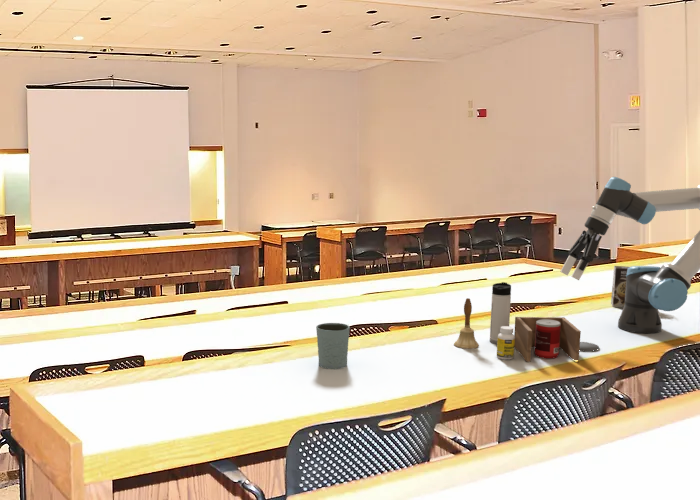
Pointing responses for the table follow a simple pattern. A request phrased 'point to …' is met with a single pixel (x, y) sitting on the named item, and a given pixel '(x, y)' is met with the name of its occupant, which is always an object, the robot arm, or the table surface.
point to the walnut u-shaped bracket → (527, 331)
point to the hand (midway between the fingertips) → (569, 276)
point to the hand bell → (467, 330)
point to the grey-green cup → (332, 345)
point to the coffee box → (619, 286)
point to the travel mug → (499, 309)
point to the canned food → (547, 338)
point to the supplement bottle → (506, 343)
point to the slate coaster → (588, 346)
